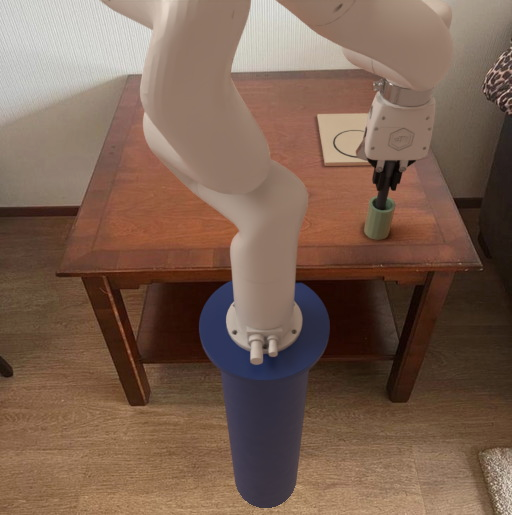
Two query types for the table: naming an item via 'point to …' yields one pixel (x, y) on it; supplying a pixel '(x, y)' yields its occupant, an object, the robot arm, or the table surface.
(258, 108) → the table surface
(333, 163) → the drawing board
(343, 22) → the robot arm
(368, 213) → the pen cup
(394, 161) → the marker
